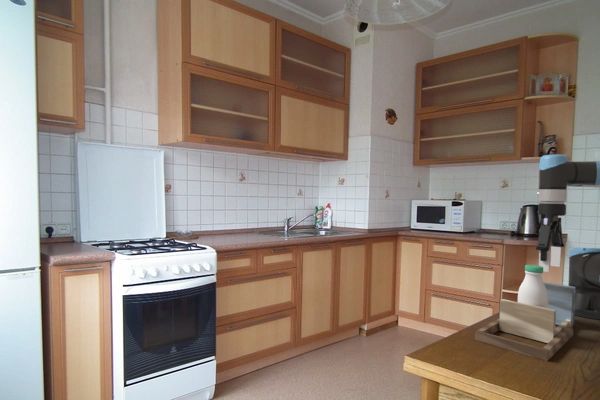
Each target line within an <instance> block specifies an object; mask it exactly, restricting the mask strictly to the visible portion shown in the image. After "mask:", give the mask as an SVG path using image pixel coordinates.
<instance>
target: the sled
mask: <svg viewBox="0 0 600 400" xmlns="http://www.w3.org/2000/svg"><path fill="white" fill-rule="evenodd" d="M523 281H524V279H523V280H522V282H523ZM543 283H544V285H545V287H546V289H547V293H548V308H543V307H538V306H533V305H528V304H524V303H519V302H517V301H513V300H508V299H502V298H501V299H500V301H499V318H500V319H499V318H498V319H499V330H498V331H501V332H504V333H507V334H510V335H516V336H519V337H523V338H527V339H529V340H530V339H531V340H535V341H536V342H537V341H538V342H542V343H546V344H548V343H549V342H550V341H551V340H552V339H553V338H555V337H556V336H557V335H558V334H559V333H560V332H561V331H562V330H564V329H565V328H566V327H567V326H569V327H573V326H575V315H574V309H575V287H572V286H568V285H565V284H560V283H559V284H558V283H552V282H547V281H543ZM556 325H557V326H556Z"/></svg>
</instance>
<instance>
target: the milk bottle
mask: <svg viewBox="0 0 600 400" xmlns="http://www.w3.org/2000/svg"><path fill="white" fill-rule="evenodd" d="M524 274H525V276H524V279H523V280H524V281H523V280H522V282H521V284H520V286H519V288H518V292H517V301H516V302H519V303H524V304H528V305H533V306H538V307H543V308H548V293H547V289H546V287H545V285H544V283H543V282H544V280H543V275H544V271H543V267H542V266H539V265H536V264H525V266H524Z"/></svg>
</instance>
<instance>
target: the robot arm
mask: <svg viewBox="0 0 600 400" xmlns="http://www.w3.org/2000/svg"><path fill="white" fill-rule="evenodd" d="M538 166H539V167H538V171H539V172H538V173H539V174H538V175H539V176H538V179H539V180H538V192H537V193H536V195H537V196H538V202H540V203H538V206H537V214H538V215H540V216H544V218H543V217H541V219H540V227H539V234H538V239H537V243H536V246H535V250H536V251H537V250H538V266H542V267H543V273H550V267H558V268H561V264H562V263H561V262H562V259H561V258H562V248H564V247H565V243H564V238H563V229H562V217H563V216H566V214H567V205H566V203H567V200H568V199H567V198H568V196H567V195H568V193H567V189H568V187H575V188H576V187H577V188H578V187H581V188H593V189H594V188H598V189H600V161H598V160H595V161H571V160H569V158H568V155H566V154H560V153H558V154H557V153H556V154H546V155H545V154H544V155H542V156H541V157H540V159H539V165H538ZM559 216H561V217H559ZM568 260H569V262H568V264H569V265H568V285H567V286H572V287H575V309H574V316H577V317H583V318H586V319H592V320H593V319H594V320H600V247H597V248H596V247H572V248H571V249H570V251H569V255H568Z"/></svg>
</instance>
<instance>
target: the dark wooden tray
mask: <svg viewBox="0 0 600 400" xmlns="http://www.w3.org/2000/svg"><path fill="white" fill-rule="evenodd" d="M499 319H500V317H499V318H497V319H495V320H493V321H492V322H489V323H488V324H486V325H484V326H483V327H481V328H479V329H478V330H475V331H474V332H475V333H474V334H475V335H474V340H475V341H478V342H480V343H484V344H488V345H490V346H494V347H498V348H501V349H505V350H508V351H511V352H515V353H518V354H522V355H525V356H527V357H528V356H529V357H531V358H534V357H535V359H538V360H542V361H545V362H548V361H549V360H550V359H551V358H552V357H553V356H554V355H555V354H556V353H557V352H558V351H560V349H561V348H562V347H563V346H564V345H565V344H566V343H567V342H568V341H569V340H570V339H571V338H572V337H573V336H574V327H573V326H572V327H569V326H567V327H566V328H565V329H564V330H562V331H561V332H560V333H559V334H558V335H557V336H556V337H555V338H553V339H552V340H551V341H550V342H549V343H546V345H545V346H543V347H539V346H535V345H532V344H528V343H525V342H520V341H516V340H514V339H509V338H506V337H502V336H499V335H495V333H497V332H498V331H500V330H499Z"/></svg>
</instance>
